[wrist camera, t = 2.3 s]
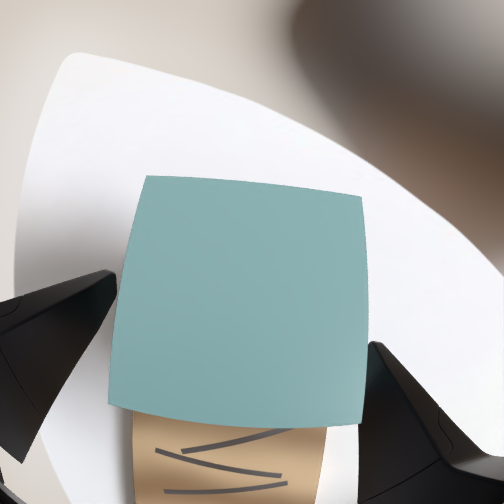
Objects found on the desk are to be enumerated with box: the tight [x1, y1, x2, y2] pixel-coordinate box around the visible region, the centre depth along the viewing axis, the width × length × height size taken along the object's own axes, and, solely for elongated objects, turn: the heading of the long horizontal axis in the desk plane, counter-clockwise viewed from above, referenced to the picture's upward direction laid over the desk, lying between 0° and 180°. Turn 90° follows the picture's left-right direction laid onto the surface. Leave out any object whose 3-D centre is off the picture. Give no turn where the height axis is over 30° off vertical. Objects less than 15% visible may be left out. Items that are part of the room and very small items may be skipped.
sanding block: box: [108, 176, 368, 428], centre depth 10 cm, size 7×6×12 cm
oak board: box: [132, 410, 327, 504], centre depth 15 cm, size 24×12×2 cm, turn 176°
